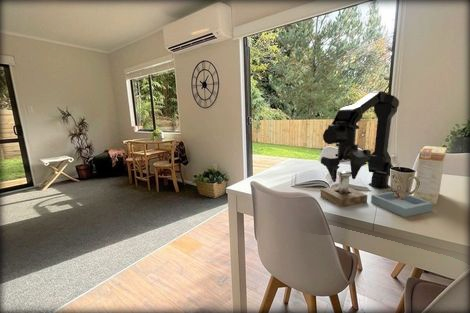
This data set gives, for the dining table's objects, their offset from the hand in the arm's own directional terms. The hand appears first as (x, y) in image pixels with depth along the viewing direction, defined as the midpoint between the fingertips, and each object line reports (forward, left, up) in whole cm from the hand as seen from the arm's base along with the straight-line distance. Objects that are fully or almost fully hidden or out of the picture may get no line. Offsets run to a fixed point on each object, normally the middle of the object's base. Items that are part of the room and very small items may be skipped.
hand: (344, 180), depth 90 cm
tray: (-14, +13, -8) cm, 21 cm away
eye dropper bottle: (-46, -16, -8) cm, 49 cm away
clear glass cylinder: (0, 0, -8) cm, 8 cm away
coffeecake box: (-32, +10, -8) cm, 34 cm away
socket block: (0, 0, -8) cm, 8 cm away
